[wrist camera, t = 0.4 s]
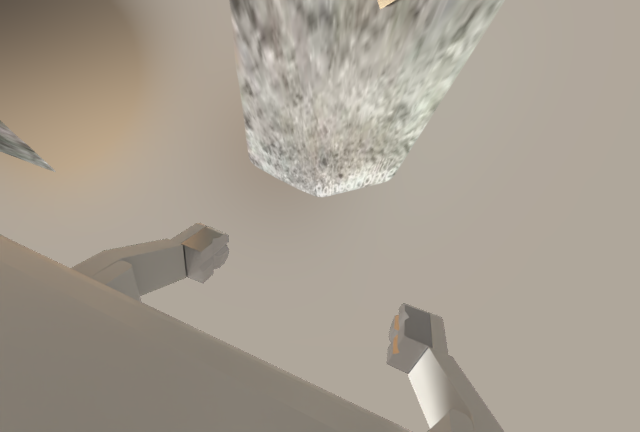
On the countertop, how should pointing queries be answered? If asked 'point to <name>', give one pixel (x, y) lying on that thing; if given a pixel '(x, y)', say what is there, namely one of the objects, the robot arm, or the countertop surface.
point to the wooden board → (384, 3)
